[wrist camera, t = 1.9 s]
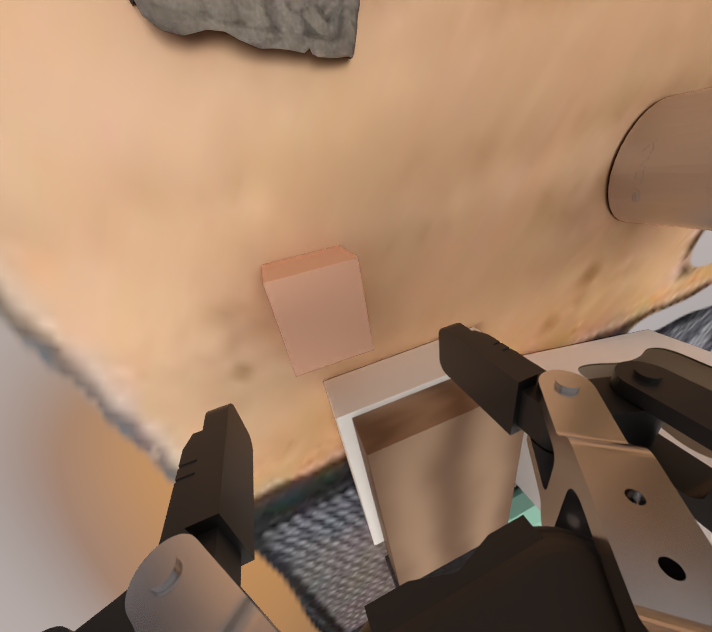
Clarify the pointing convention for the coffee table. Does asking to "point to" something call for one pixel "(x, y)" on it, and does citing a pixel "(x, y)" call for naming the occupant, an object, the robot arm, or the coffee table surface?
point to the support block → (319, 307)
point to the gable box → (601, 362)
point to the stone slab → (264, 22)
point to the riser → (379, 405)
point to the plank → (436, 476)
